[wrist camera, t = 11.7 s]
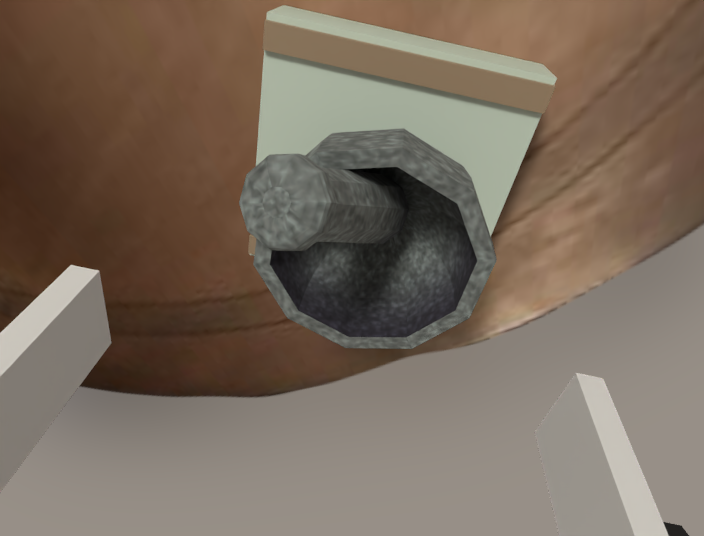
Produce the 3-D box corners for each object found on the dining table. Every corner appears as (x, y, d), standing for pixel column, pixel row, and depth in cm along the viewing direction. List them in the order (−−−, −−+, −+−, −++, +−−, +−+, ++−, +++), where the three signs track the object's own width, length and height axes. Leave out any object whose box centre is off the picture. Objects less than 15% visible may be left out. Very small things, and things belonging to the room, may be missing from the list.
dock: (263, 230, 31) (247, 257, 28) (283, 4, 23) (265, 12, 20) (459, 274, 31) (463, 306, 28) (542, 64, 23) (558, 79, 20)
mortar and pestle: (497, 241, 26) (542, 426, 16) (341, 286, 29) (296, 464, 19) (428, 27, 20) (432, 103, 10) (246, 110, 23) (114, 230, 13)
